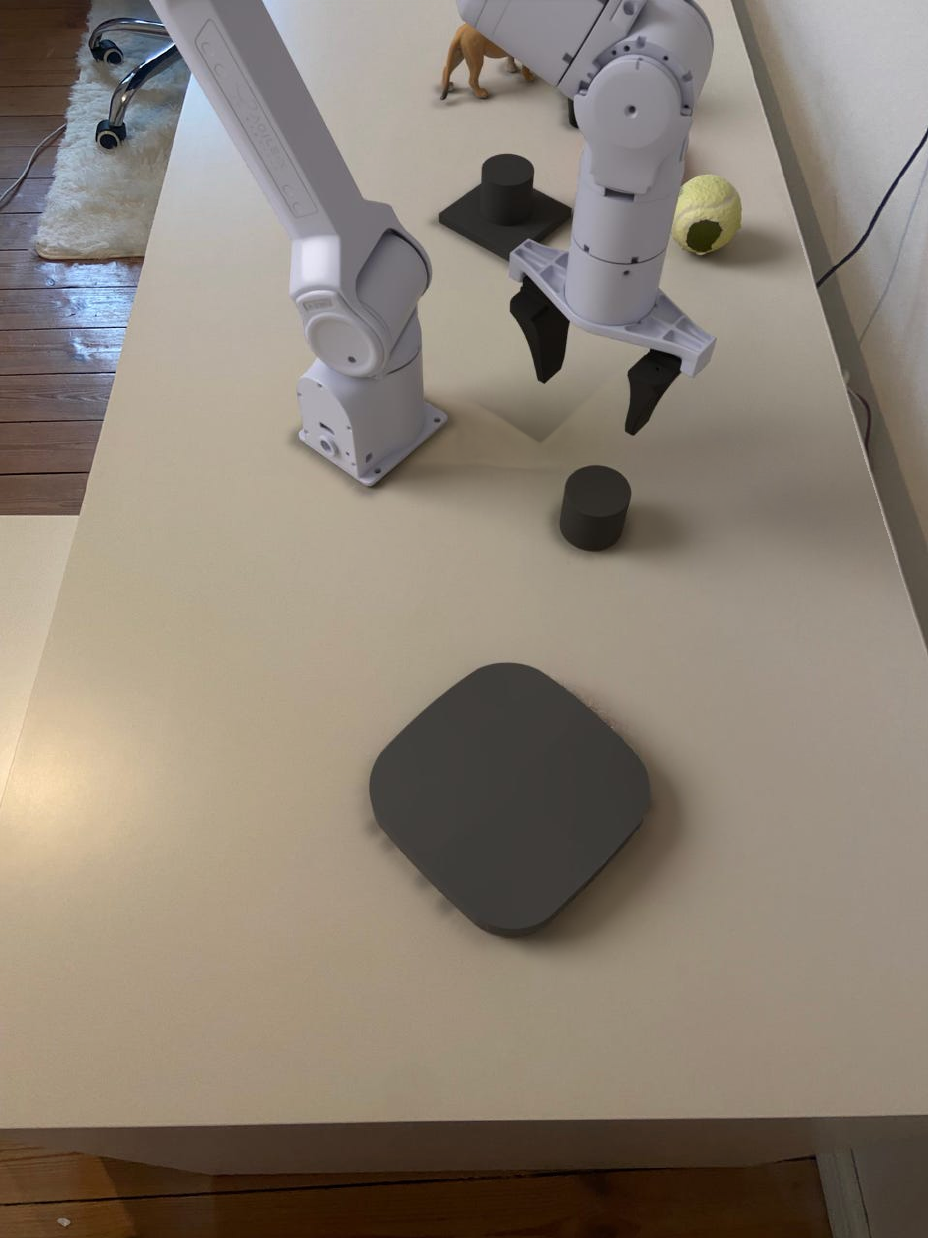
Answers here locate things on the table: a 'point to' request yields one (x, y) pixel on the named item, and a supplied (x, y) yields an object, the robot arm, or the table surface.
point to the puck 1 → (506, 189)
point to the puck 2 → (594, 507)
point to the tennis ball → (706, 214)
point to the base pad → (504, 238)
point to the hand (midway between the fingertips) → (592, 399)
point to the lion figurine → (475, 59)
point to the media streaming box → (509, 796)
